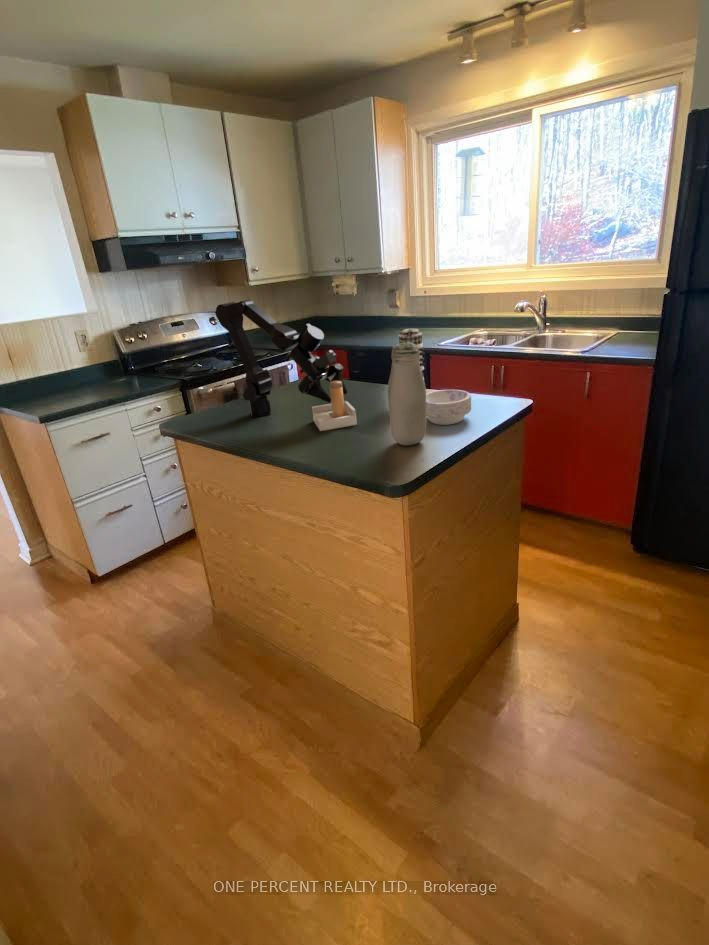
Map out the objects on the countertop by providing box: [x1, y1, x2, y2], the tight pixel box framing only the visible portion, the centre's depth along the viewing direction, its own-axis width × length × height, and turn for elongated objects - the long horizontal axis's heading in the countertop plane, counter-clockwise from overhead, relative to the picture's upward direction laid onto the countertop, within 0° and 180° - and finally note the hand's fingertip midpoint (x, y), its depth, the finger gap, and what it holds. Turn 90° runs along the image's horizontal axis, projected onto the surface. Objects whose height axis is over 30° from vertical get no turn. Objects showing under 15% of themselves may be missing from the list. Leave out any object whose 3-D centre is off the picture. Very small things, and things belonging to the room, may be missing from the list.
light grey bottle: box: [387, 342, 427, 446], centre depth 139 cm, size 10×10×28 cm
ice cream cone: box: [328, 381, 345, 418], centre depth 165 cm, size 4×4×14 cm
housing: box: [311, 400, 358, 432], centre depth 167 cm, size 12×11×5 cm
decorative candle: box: [398, 327, 426, 384], centre depth 175 cm, size 9×9×25 cm
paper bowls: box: [426, 389, 472, 426], centre depth 158 cm, size 15×15×8 cm
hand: (338, 397), depth 164 cm, fingers open, 9 cm apart
